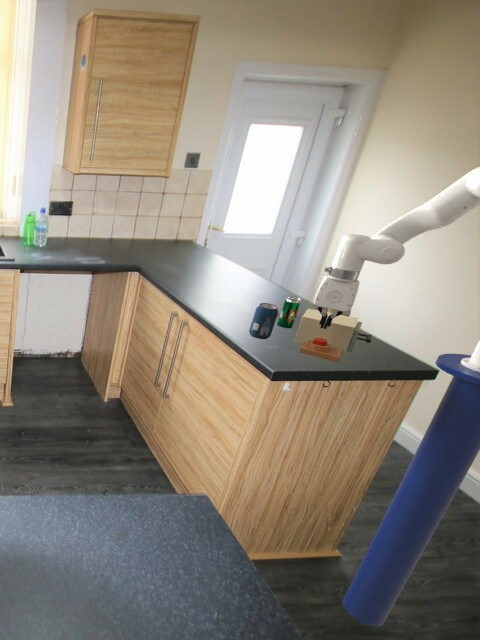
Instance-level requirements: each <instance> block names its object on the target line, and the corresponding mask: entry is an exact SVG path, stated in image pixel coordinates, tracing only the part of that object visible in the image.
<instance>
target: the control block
mask: <svg viewBox="0 0 480 640" xmlns="http://www.w3.org/2000/svg"><path fill="white" fill-rule="evenodd" d="M313 342H314V340H309V341H308V342H305V341H304V343H303V344H302V345H301V346H300V348H299V351H298V353H300V354H303V355H308V356H312V357H317V358H320V359H324V360H327V361H332V362H336V363H339V362H340V359H341V357H342V355H343V354H342V350H338V349H334V348H331V346H332V345H330V344H329V343H327V344H326V346H320V345H316V344H314V343H313Z"/></svg>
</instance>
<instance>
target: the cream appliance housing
mask: <svg viewBox="0 0 480 640" xmlns="http://www.w3.org/2000/svg"><path fill="white" fill-rule="evenodd" d="M306 309H307V310H305V312H304V314H303V315H302V316H301V317H302V318H301V320H300V322H299V326H298V329H297V332H296V335H295V337H294V341H293V342H294V343H298V344H302V345H303V343H304V341H305V342H308V341H309V340H314V339H315V338H322V339H325V340H327V343H329V344H330V345H332V346H331V348H334V349H338V350H342V354H341V355H346V353H347V350H348V347H349V344H350V341H351V338H352V336H353V333H354V330H355V328H356V325H357V323H358V321H359V318H357V317H353V316H344V315H339V316H337V317H334V318H333V320H332V322H331V325H330V327H328V326H327V328H326V329H324V327H323V328H320V327H321V325H319V323H320V320H321V318H322V315H321V313H320V312H319V310H317V309H315V308H306ZM327 314H328V315H327V316H329V315H330V314H332V313H329V312H327ZM327 318H328V317H327ZM325 323H326V322H325ZM324 326H325V325H324Z"/></svg>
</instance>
